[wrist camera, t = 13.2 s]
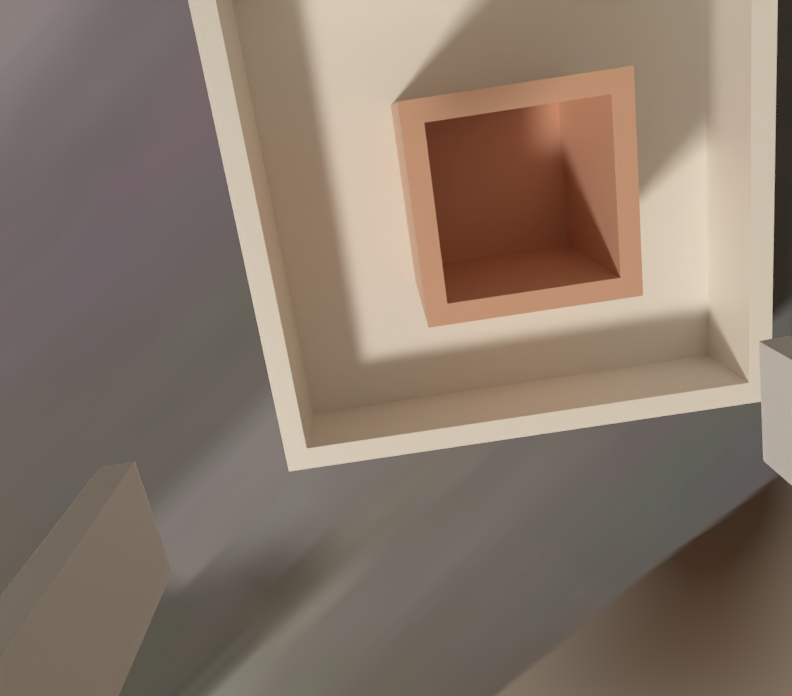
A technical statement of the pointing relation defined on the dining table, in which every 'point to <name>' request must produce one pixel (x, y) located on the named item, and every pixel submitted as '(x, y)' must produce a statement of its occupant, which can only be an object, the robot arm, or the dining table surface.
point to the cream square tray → (388, 231)
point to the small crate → (522, 195)
